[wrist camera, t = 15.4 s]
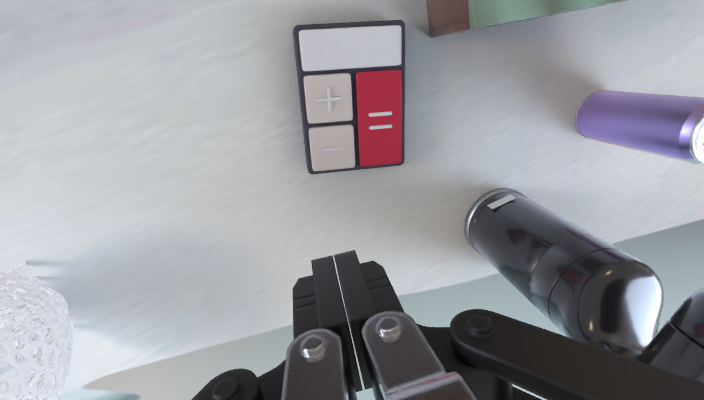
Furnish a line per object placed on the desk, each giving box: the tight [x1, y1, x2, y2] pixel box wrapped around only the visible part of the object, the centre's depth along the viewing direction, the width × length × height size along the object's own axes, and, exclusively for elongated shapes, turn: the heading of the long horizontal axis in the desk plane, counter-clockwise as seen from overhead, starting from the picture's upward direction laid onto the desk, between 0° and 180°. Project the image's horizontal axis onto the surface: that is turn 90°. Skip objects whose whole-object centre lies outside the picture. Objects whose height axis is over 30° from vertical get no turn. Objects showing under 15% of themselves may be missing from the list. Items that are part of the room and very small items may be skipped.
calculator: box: [293, 20, 405, 174], centre depth 40 cm, size 11×4×15 cm
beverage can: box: [575, 91, 704, 163], centre depth 41 cm, size 6×6×15 cm
